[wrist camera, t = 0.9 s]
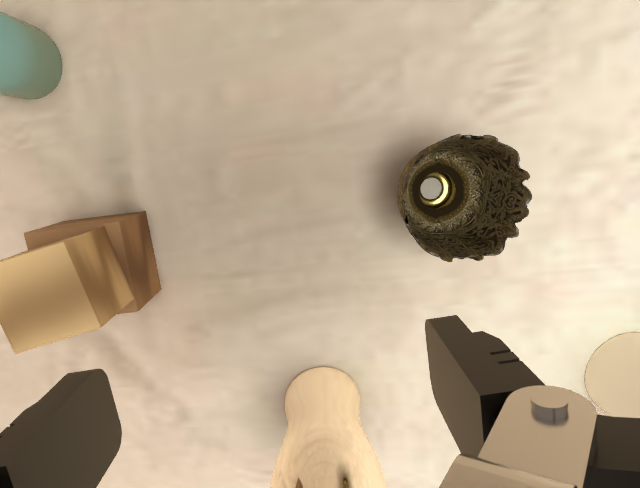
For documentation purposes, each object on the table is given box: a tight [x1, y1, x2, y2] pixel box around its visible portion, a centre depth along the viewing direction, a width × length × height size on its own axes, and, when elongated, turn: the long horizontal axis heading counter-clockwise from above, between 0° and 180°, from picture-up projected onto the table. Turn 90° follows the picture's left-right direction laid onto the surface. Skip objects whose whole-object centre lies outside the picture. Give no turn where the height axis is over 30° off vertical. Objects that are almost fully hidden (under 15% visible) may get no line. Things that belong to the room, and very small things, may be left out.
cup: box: [398, 134, 532, 262], centre depth 30 cm, size 8×7×8 cm
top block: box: [0, 226, 134, 354], centre depth 27 cm, size 5×5×5 cm
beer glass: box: [270, 367, 388, 488], centre depth 30 cm, size 7×7×15 cm
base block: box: [24, 211, 161, 314], centre depth 32 cm, size 6×6×5 cm
